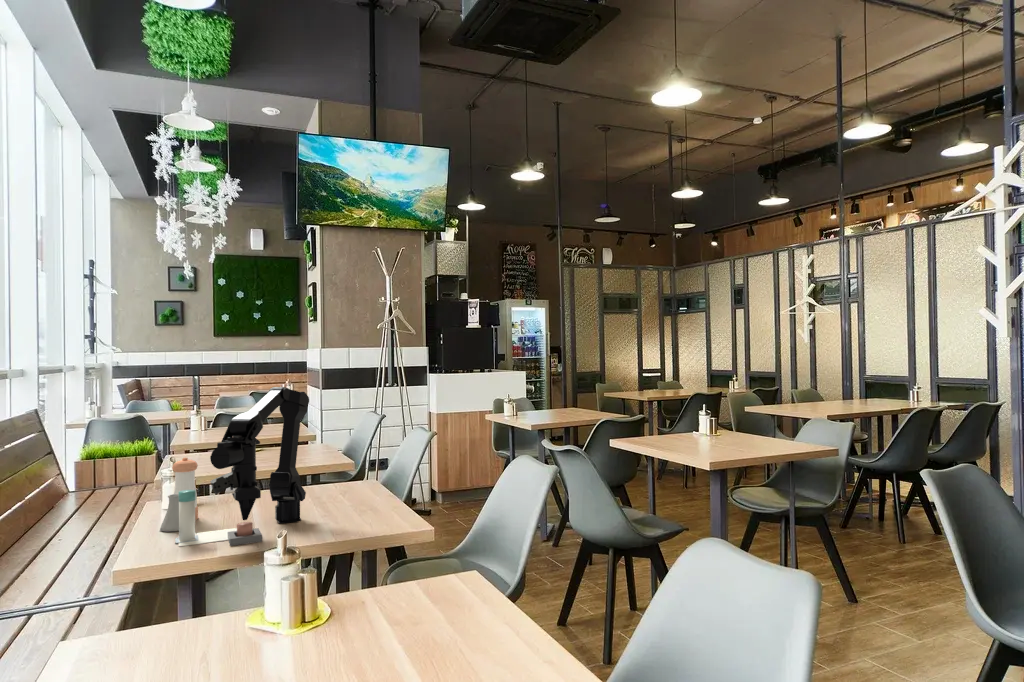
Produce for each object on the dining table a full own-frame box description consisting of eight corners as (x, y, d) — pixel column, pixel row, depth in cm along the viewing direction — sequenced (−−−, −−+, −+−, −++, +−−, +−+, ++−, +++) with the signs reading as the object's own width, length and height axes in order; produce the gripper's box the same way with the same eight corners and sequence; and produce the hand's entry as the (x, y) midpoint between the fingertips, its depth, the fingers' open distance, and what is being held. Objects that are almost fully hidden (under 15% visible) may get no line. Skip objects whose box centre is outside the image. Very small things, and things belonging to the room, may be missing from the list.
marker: (197, 536, 181) (197, 489, 181) (193, 540, 176) (193, 492, 177) (181, 537, 180) (181, 490, 180) (176, 541, 176) (176, 493, 176)
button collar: (258, 534, 183) (258, 528, 183) (262, 541, 176) (262, 534, 176) (227, 538, 179) (227, 531, 179) (230, 545, 172) (230, 539, 172)
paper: (239, 528, 190) (239, 527, 190) (243, 538, 179) (243, 537, 179) (175, 536, 182) (175, 535, 182) (175, 547, 171) (175, 545, 171)
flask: (176, 533, 186) (176, 498, 186) (154, 532, 187) (154, 497, 187) (193, 526, 193) (193, 492, 193) (172, 525, 194) (172, 492, 194)
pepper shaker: (202, 516, 204) (202, 455, 205) (189, 522, 197) (189, 459, 198) (181, 516, 205) (181, 455, 205) (166, 522, 198) (166, 459, 198)
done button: (251, 532, 180) (251, 521, 180) (253, 535, 177) (253, 524, 177) (236, 534, 178) (236, 523, 178) (237, 537, 175) (237, 526, 175)
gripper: (210, 460, 183) (210, 516, 182) (214, 470, 166) (214, 532, 166) (252, 457, 188) (253, 511, 187) (260, 466, 171) (261, 526, 171)
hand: (244, 519), depth 178 cm, fingers closed
